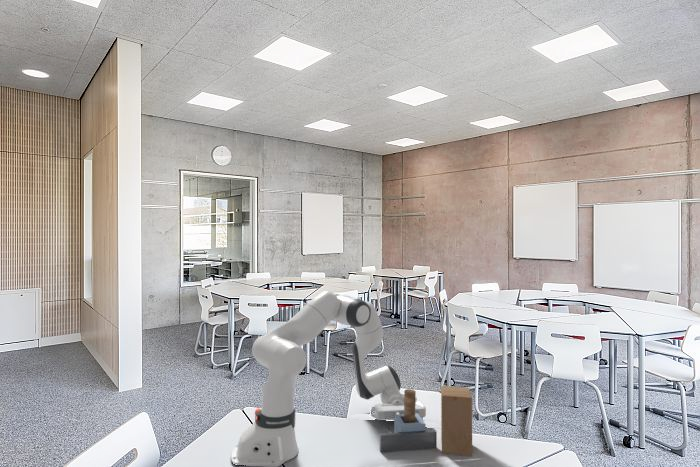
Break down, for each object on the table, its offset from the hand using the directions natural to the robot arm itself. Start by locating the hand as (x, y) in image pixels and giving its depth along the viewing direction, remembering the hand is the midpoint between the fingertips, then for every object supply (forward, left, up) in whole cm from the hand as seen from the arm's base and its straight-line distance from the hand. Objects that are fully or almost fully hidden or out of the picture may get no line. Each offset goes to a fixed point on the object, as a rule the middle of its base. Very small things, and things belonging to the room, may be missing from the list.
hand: (404, 419), depth 153 cm
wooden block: (+15, -13, -5) cm, 21 cm away
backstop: (-2, -5, -5) cm, 8 cm away
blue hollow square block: (0, -7, -5) cm, 8 cm away
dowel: (0, -7, -3) cm, 7 cm away
